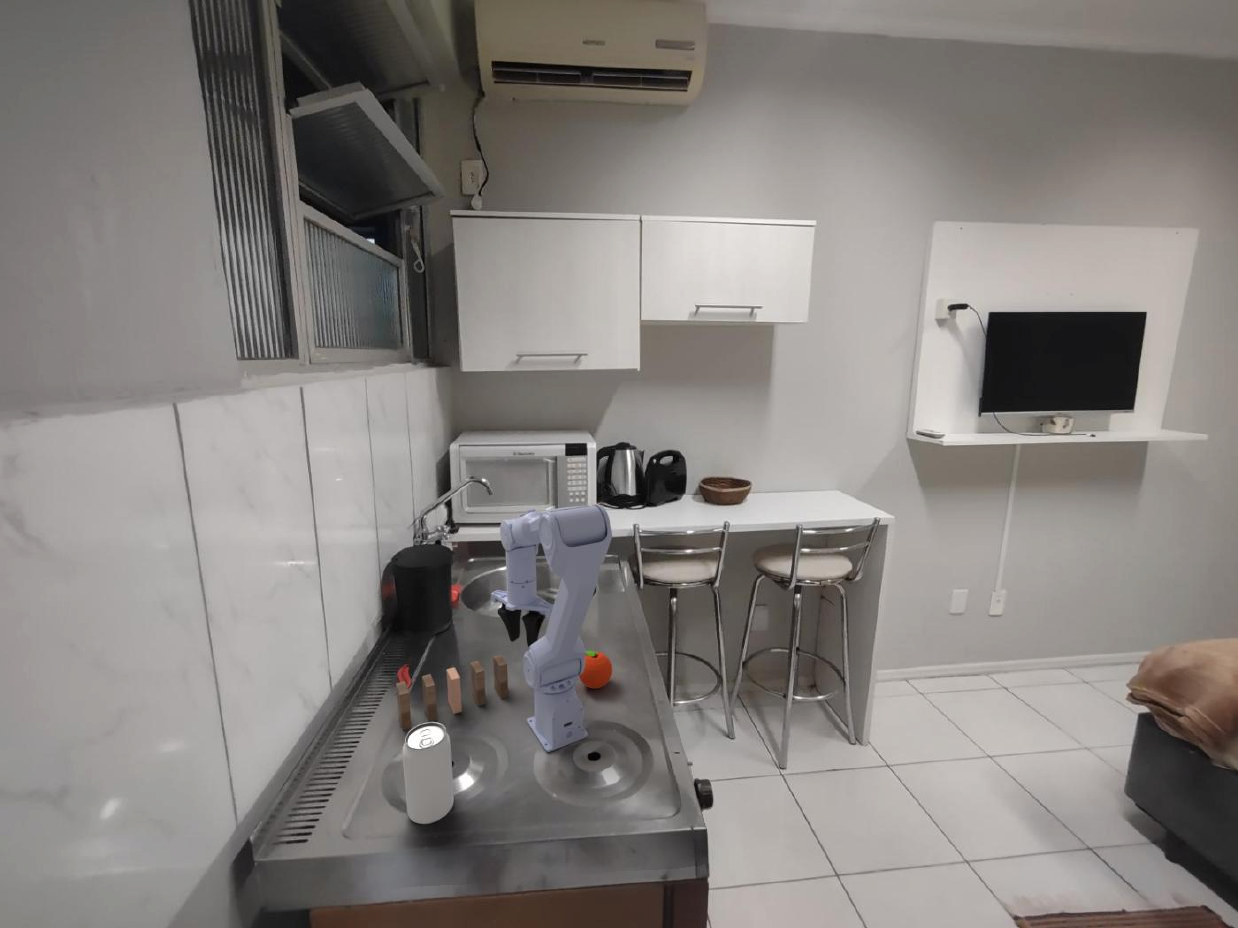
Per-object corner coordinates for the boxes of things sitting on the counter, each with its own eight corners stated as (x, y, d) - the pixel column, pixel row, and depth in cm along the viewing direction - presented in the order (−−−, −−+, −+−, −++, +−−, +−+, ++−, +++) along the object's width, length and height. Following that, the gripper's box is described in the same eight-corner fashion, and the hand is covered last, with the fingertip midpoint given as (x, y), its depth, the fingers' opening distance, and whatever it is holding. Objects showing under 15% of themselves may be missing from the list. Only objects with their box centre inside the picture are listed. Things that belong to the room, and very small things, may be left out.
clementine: (567, 685, 108) (566, 653, 107) (589, 670, 114) (589, 639, 112) (597, 700, 103) (597, 666, 102) (619, 683, 109) (619, 651, 108)
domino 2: (437, 719, 98) (435, 684, 96) (428, 722, 97) (426, 687, 96) (432, 707, 101) (430, 673, 100) (424, 710, 100) (422, 676, 99)
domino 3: (461, 711, 100) (459, 677, 99) (453, 713, 99) (451, 679, 98) (456, 700, 103) (454, 667, 102) (448, 702, 103) (446, 669, 101)
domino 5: (508, 696, 105) (507, 663, 103) (500, 698, 104) (499, 665, 102) (501, 686, 108) (500, 654, 107) (494, 688, 107) (493, 656, 106)
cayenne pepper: (404, 698, 104) (403, 689, 104) (380, 698, 105) (379, 689, 104) (426, 664, 116) (425, 656, 116) (404, 664, 116) (404, 656, 116)
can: (408, 832, 74) (402, 756, 72) (406, 798, 80) (400, 726, 78) (456, 817, 77) (452, 742, 74) (451, 785, 82) (447, 715, 80)
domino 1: (411, 727, 95) (408, 692, 94) (402, 730, 95) (399, 694, 93) (407, 715, 99) (404, 681, 98) (398, 718, 98) (396, 683, 97)
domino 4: (485, 703, 102) (484, 670, 101) (477, 706, 101) (476, 672, 100) (479, 692, 106) (477, 660, 104) (472, 695, 105) (470, 662, 104)
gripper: (479, 577, 104) (482, 641, 107) (538, 592, 97) (540, 661, 100) (503, 566, 110) (505, 626, 113) (560, 579, 103) (562, 644, 106)
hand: (523, 641), depth 107 cm, fingers open, 4 cm apart
